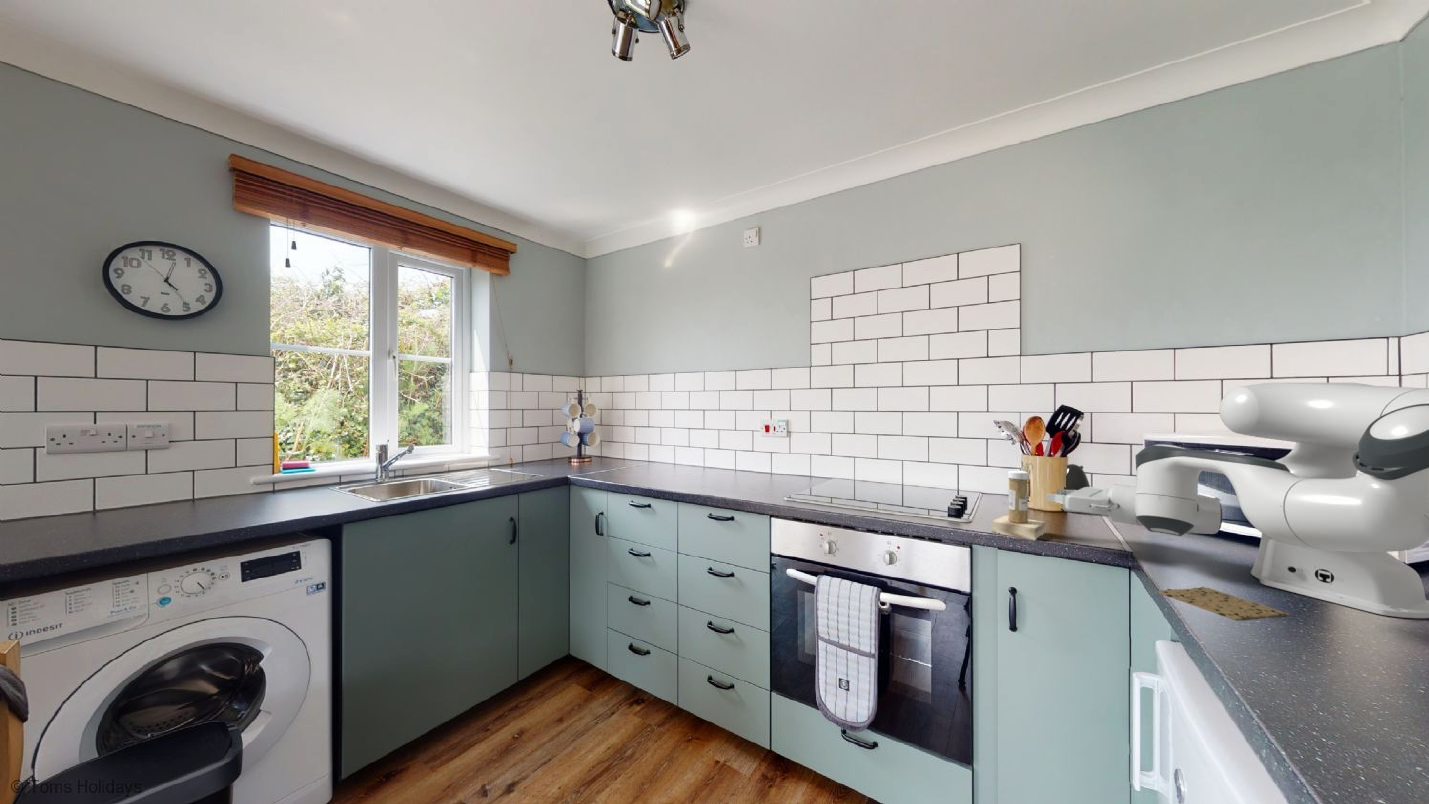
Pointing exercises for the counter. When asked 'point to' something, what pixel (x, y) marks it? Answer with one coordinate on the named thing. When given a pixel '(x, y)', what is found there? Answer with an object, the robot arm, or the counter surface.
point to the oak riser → (1019, 528)
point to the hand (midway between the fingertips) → (1052, 494)
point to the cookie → (1223, 603)
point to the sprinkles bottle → (1018, 496)
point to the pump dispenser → (1075, 480)
